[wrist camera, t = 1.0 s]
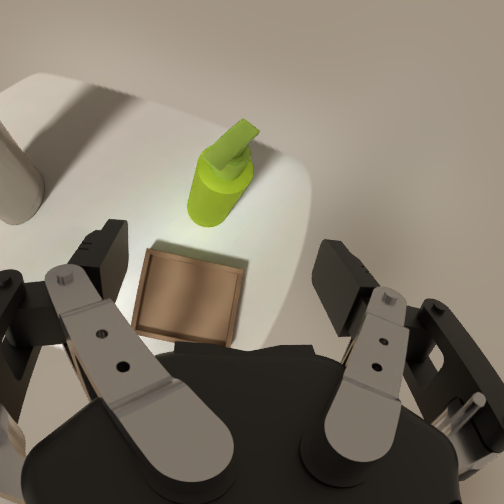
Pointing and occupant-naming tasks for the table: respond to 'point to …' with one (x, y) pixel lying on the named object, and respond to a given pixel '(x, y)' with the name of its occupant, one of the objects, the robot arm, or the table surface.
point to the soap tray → (186, 299)
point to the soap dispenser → (222, 175)
